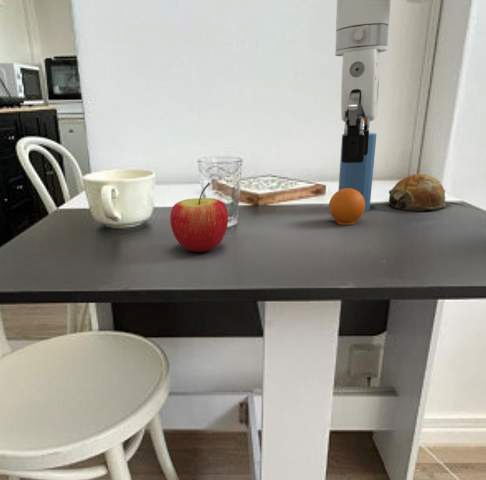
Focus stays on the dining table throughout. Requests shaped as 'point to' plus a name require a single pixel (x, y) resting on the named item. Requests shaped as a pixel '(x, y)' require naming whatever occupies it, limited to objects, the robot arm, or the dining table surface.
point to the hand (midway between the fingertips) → (355, 158)
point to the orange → (347, 206)
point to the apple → (199, 223)
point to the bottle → (359, 172)
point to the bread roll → (418, 193)
